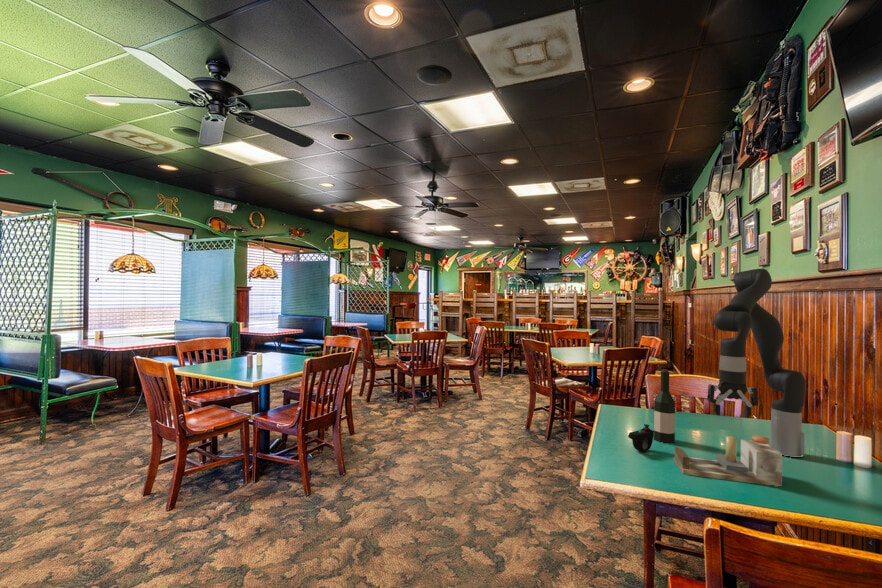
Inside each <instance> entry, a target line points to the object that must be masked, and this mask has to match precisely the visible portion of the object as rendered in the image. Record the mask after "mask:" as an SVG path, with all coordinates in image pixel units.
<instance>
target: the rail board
mask: <svg viewBox="0 0 882 588" xmlns="http://www.w3.org/2000/svg"><path fill="white" fill-rule="evenodd" d="M740 461H741V462H742V463H743V464H744V465H745V466H746V467H747V468H748V473H747V472H739V471H731V470H726V469H725V468H724V467H723V466H722V465H721V464H720V463H719V462H718V461H717V460H716V459H708V458H700V457H691V456H688V454H687V453H686V452H685V450H684V449H683V448H682V447H679V446H675V447H674V457H673V462H674V463H675V464H676V466H677V467H678V469H679V470H680V472H681V473H682V474H683V475H685V476H686V475H688V476H695V477H703V478H711V479H717V480H724V481H725V480H727V481H731V482H740V483H750V484H755V483H756V484H758V485H763V484H765V485H764V486H770V485H775V486H774V487H778V486H782V487H783V456H782V454H781V453H780V452H778V451H777V450H775V449H774V448H773V447H771V444H770V445H769V444H760V443H756V442H754V441H752V440H751V439H740Z"/></svg>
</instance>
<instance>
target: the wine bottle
mask: <svg viewBox="0 0 882 588" xmlns="http://www.w3.org/2000/svg"><path fill="white" fill-rule="evenodd" d="M653 404H654V405H653V407H654V409H653V410H654V413H653V415H654V416H653V420H654V421H653V426H654V427H653V431H654V436H653V440H654V441H655V440H656V441H655V442H658V441H659V442H658V443H660V442H663V443H662V444H666V443H673V444H675V442H676V400H675V399H674V397H673V396H672V393H670V371H669V370H668V369H664V368H663V369H661V370H660V391H659V392H658V393H657V395H656V396H655V397H654V403H653Z"/></svg>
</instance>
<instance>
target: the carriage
mask: <svg viewBox="0 0 882 588" xmlns="http://www.w3.org/2000/svg"><path fill="white" fill-rule="evenodd" d="M737 443H738V442H737V437H735V436H732V435H726V436H725V454H717V453H716V454H715V455H714V456H715V459H714V460H717V461H718V462H719V463H720V464H721V465H722V466H723V467H724V468H725V469H726V470H731V471H739V472H747V473H748V468H747V467H746V466H745V465H744V464H743V463H742V462H741V460H740V459H738V458H737Z"/></svg>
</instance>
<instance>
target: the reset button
mask: <svg viewBox="0 0 882 588" xmlns="http://www.w3.org/2000/svg"><path fill="white" fill-rule="evenodd" d="M751 437H752V441H754V442H756V443H760V444H768V445H769V444H770V438H768V437H766V436H763V435H752V436H751Z"/></svg>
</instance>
